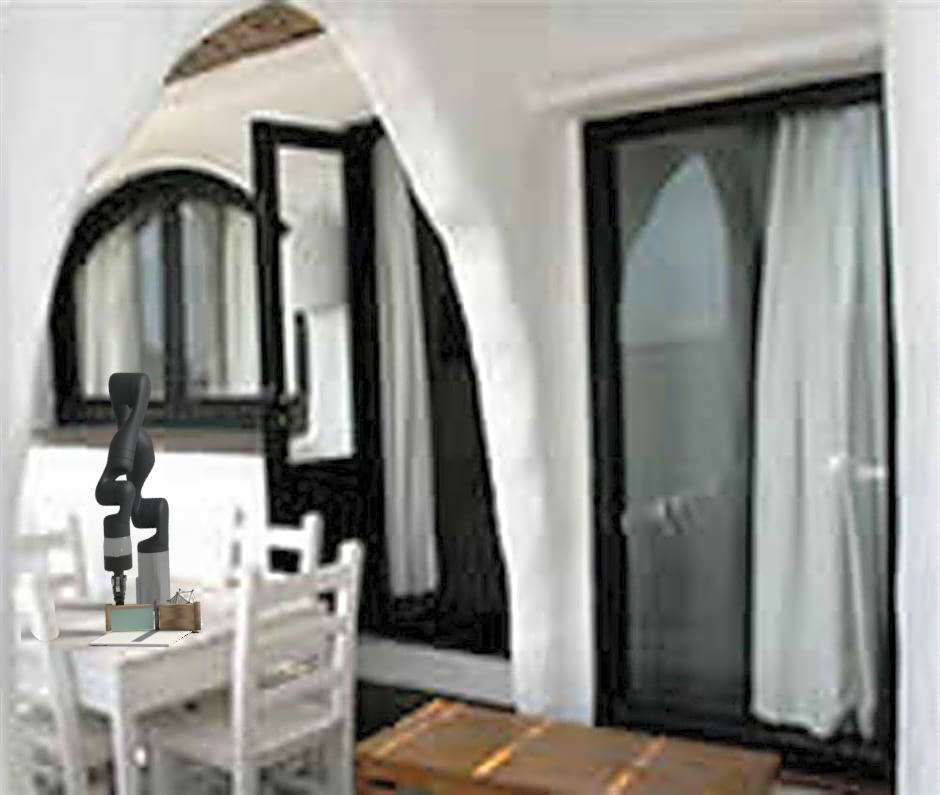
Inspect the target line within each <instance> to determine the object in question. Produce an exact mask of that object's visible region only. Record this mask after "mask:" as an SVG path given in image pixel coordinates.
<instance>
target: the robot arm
mask: <svg viewBox="0 0 940 795" xmlns="http://www.w3.org/2000/svg"><path fill="white" fill-rule="evenodd" d="M107 384H108V385H107V386H108V389H107V390H108V396H109V400H110V403H111V404H110V405H111V408H112V411H113V415H114V419H115V423H116V426H117V431H116V432H115V434H113V437H112V439H111V440H110V443H109V447H108V453H107V460H106V464H105V467H104V469H103V471H102V473H101V476H100V478H99V480H98V482H97V484H96V486H95V489H94V497H95V498H94V499H95V501H96V502H97V504H98V505H100V506H103V507H119V510H118V511H117V512H115V513H113V514H108V515H105V516H104V518H103V522H102V524H103V526H102V528H103V545H102V548H103V569H104V571H106V572H108V573H109V572H112V573H113V575H111V577H110V584H111V587H112V595H113V600H114V602H115V606H119V605H125V600H126V591H127V580H128V579H127V577H128V575H127V574H125V573H124V571H125V572H126V571H129V570H131V569H132V568H133V546H132V544H133V543H132V538H131V523H132V526H133V527H134V528H136V529H138V530H139V529H140V530H144V529H146V530H147V529H149V530H150V529H156V530H155V533H154V534H153V535H151V536H150V537H148V538H146V539H143V540H142V539H141V540H139V541H138V543H137V545H136V547H137V548H136V552H137V554H136V555H137V577H135V597H136V604H135V605H140V604H154V601H155V600H159V604H170V602H167V601H166V600H171V599H172V598H171V576H170V574H171V573H170V572H171V571H170V552H169V551H170V546H169V544H170V543H169V541H170V532H169V526H170V524H169V522H170V508H169V507H170V506H169V502H168V500H167V499H166V498H165V497H143V496H142V490H143V487H144V485H145V482H146V480H147V479H148V477H149V475H150V474H151V472H152V471H153V470H152V469H153V468H154V466H155V463H156V455H155V449H154V442H153V440H152V438H151V436H150V434H149V433H148V431H146V429H145V428H144V427H143V422H144V419H145V417H146V412H147V409H148V405H149V402H150V398H151V392H152V382H151V379H150V376H149V375H148V374H147V373H145V372H114V373H112V374H110V377H109V378H108V382H107ZM129 406H132V410H131V409H130V407H129ZM122 476H125V480H123V479H121V480H120V479H119V480H117V479H118V478H119V477H122ZM153 611H154V607H153Z"/></svg>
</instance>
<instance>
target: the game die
mask: <svg viewBox="0 0 940 795" xmlns="http://www.w3.org/2000/svg"><path fill="white" fill-rule="evenodd" d="M194 591H195V590H194V589H193V588H192V589H191V590H182V589H181V588H178V591H175V594H174V596H173V597H172V598H171V600H166V601H167V602H170V604H193V602H198V601H197V600H196V597H195V595H194ZM200 607H202V605H201V604H200Z"/></svg>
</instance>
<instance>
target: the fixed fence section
mask: <svg viewBox="0 0 940 795" xmlns="http://www.w3.org/2000/svg"><path fill="white" fill-rule="evenodd" d="M200 605H201V602H200V601H197V602H193V604H159V600H155V601H154V610H153V614H154V623H155V630H159V629H160V630H198V631H201V630H202V626H201V623H202V622H201V621H202V619H201V615H202V614H201V606H200ZM159 623H160V627H159ZM198 631H197V632H198Z"/></svg>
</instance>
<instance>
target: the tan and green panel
mask: <svg viewBox="0 0 940 795" xmlns="http://www.w3.org/2000/svg"><path fill="white" fill-rule="evenodd" d="M153 607H154V604H140V605H137V604H124V605H119V606H116V605H113V603H105V604H104V608H105V609H104V610H105V611H104V612H105V631H106V632H112V631H120V630H140V629H153V628H154V623H155V615H154V610H153Z"/></svg>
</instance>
